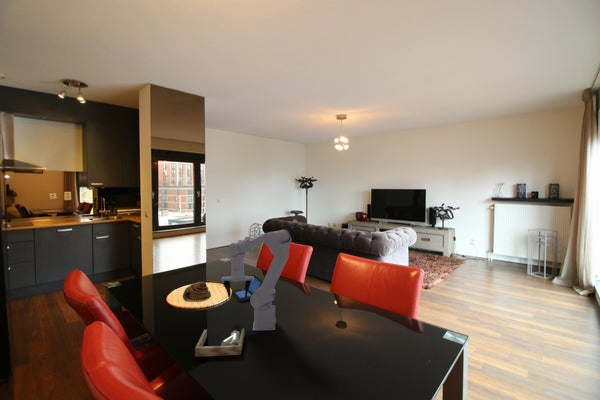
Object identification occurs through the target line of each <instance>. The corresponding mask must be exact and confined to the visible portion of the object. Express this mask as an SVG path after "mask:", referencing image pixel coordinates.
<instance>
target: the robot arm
mask: <svg viewBox="0 0 600 400" xmlns="http://www.w3.org/2000/svg"><path fill="white" fill-rule="evenodd" d="M291 243H292V237H291V234H290V231H288V230H287V229H281V230H275V231H270V232H269V231H268V232H264V233H262V234H260V235H258V236H256V237H251V236H250V237H249V236H246V237H244V239H240V240H237V242H232V243H231V244H229V245H228V252H229V255H230V256H231V258H230V259H231V262H230V263H231V265H230V266H231V269H230V270H231V275H229V276H222V277H221V283H223V287H224V289H225V290H226V294H227V297H228V298H231V295H232V291H231V282H234V283H235V282H245V283H244V288H245V297H247V292H248V289H249V286H250V284H251V282H253V281H254V276H252V275H245V256H246V253H247V252H251V251H252V250H255V249H256V246H258V245H261V244H264V245H266V246H267V248H268V249H269V251H270V252H271V254H272V256H273V258H272V261H271V262H270V265H269V268H268V270H267V272H266V274H265V276H264V279H263V280H262V281H263V283H262V285H261V286H260V287H259V288H258V289H257V290H256V291H255V293H254V294H253V295H252V296H251V298H250V301H249V302H250V304H251V306H252V308H253V310H254V311H253V315H254V316H253V319H254V320H253V325H252V331H254V332H255V331H257V332H258V331H259V332H260V331H275V330H276V324H277V318H276V305H275V304H274V305H273V302H274V301H275V295H276V289H275V287H276V284H277V282H278V280H279V278H280V276H281V275H282V272H283V270H284V269H285V266H286V264H287V262H288V260H289V256H290V246H291V245H290V244H291Z"/></svg>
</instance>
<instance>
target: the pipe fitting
mask: <svg viewBox="0 0 600 400" xmlns="http://www.w3.org/2000/svg"><path fill="white" fill-rule="evenodd" d="M240 335H241V331H240V330H239V331H238V330H236V329H234V330H233V331H232V332H231V333H230V336H229V337H227V338H226V339H223V340H222V341H221V345H220V346H230V345H238V343H239V339H240Z"/></svg>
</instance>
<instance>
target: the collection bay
mask: <svg viewBox="0 0 600 400" xmlns="http://www.w3.org/2000/svg"><path fill="white" fill-rule="evenodd" d="M245 331H246V330H245V327H244V328H241V331H240V339H239V343H238V345H230V346H221V345H216V346H215V345H213V346H212V345H211V346H204V344H205V342H206V340H207V338H208V329H204V330H203V332H202V333H201V336H200V338H199V340H198V342H197V344H196V346H195V348H194V356H195V357H198V358H199V357H217V356H218V357H219V356H220V357H221V356H238V355H239V356H240V355H241V354H242V348H243V344H244V339H245V336H246V335H245V333H246V332H245Z"/></svg>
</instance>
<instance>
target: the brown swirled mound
mask: <svg viewBox="0 0 600 400" xmlns="http://www.w3.org/2000/svg"><path fill="white" fill-rule="evenodd" d="M211 295H212V293H211V291H210V290H209V287H208V285H207V282H206V281H198V282H195V283H192V284H190V285H189V286H187V287H186V288H184V291H183V293H182V298H183V299H184V300H187V301H188V300H191V301H203V300H206V299H208V298H210V296H211Z"/></svg>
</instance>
